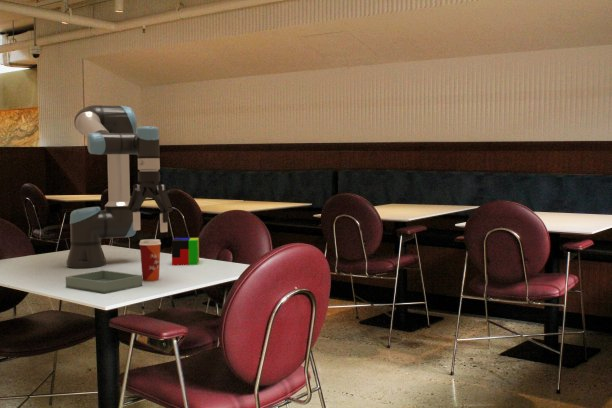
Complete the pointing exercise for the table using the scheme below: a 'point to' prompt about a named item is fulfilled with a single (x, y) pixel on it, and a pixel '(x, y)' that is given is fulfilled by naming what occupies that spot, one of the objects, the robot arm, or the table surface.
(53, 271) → the table surface
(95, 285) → the tray
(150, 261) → the paper cup
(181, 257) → the puzzle toy
